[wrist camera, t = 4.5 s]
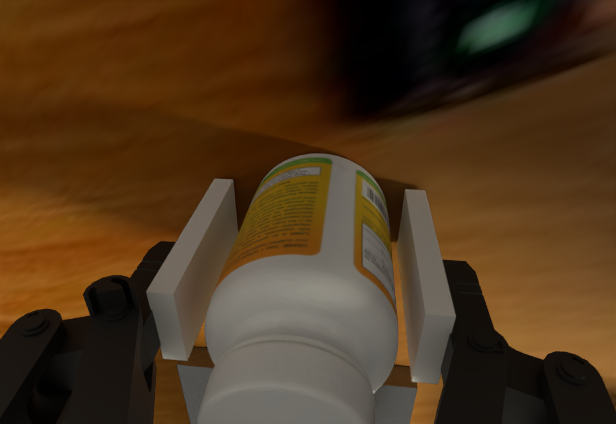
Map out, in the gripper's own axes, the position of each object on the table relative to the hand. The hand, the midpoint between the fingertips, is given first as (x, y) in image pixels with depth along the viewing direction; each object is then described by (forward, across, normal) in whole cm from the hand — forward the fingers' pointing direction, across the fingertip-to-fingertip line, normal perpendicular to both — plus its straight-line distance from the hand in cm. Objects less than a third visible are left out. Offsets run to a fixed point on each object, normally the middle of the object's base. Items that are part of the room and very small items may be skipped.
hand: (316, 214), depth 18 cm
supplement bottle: (0, 0, 0) cm, 1 cm away
